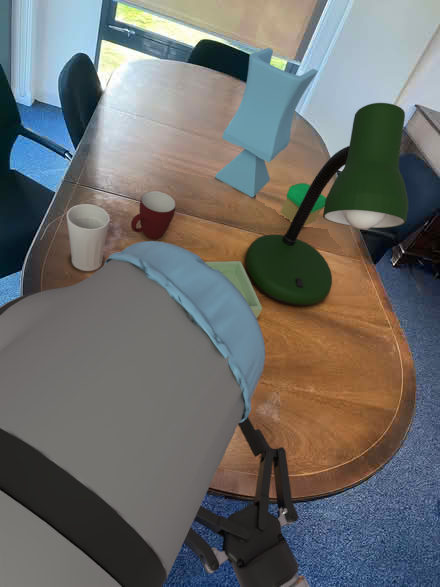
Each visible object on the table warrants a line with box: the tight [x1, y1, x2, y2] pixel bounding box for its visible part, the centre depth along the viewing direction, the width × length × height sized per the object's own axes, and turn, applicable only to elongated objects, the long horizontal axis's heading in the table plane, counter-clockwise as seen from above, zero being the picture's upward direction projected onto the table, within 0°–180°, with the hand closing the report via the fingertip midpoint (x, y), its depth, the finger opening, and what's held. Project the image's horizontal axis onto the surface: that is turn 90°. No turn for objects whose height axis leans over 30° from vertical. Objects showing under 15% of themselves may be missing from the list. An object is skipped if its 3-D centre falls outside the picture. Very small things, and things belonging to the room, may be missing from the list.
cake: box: [279, 182, 327, 227], centre depth 116 cm, size 10×11×10 cm
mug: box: [130, 190, 177, 241], centre depth 91 cm, size 10×8×10 cm
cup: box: [66, 203, 111, 272], centre depth 80 cm, size 8×8×12 cm
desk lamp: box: [244, 102, 410, 308], centre depth 80 cm, size 31×23×45 cm
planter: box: [214, 47, 319, 198], centre depth 113 cm, size 16×16×35 cm
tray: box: [204, 260, 264, 319], centre depth 86 cm, size 15×15×4 cm
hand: (201, 428), depth 58 cm, fingers open, 13 cm apart
